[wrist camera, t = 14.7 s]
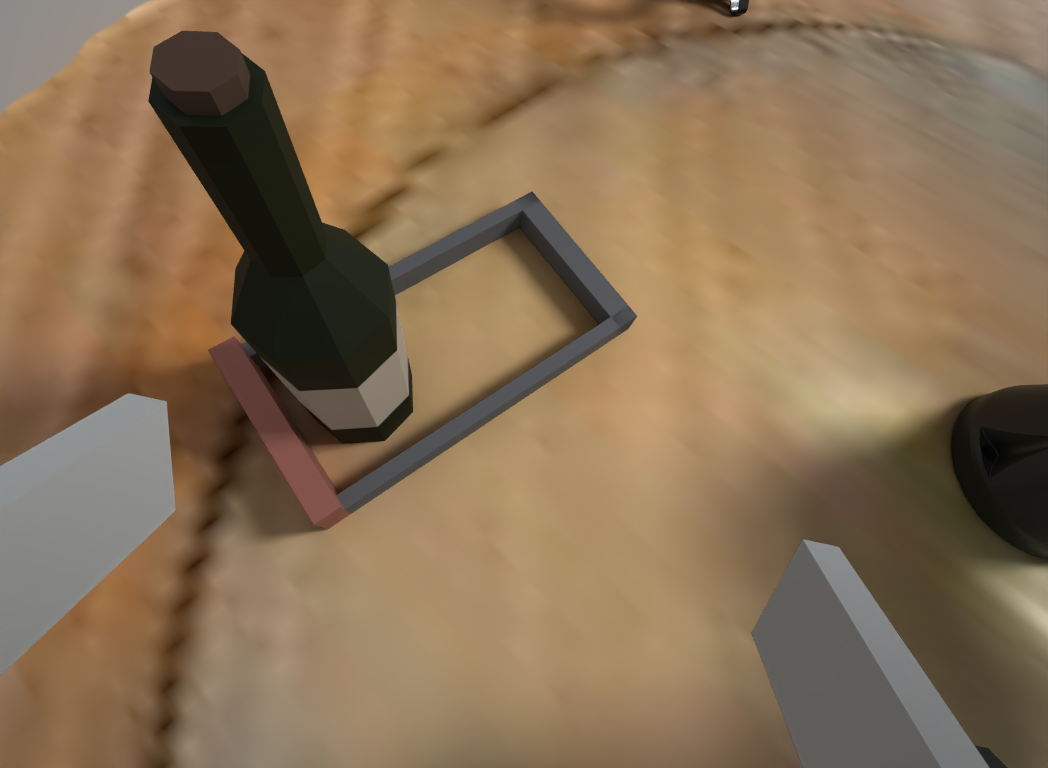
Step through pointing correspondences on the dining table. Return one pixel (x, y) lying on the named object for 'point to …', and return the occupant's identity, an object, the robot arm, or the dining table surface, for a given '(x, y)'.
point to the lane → (332, 506)
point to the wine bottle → (285, 244)
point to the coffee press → (738, 6)
